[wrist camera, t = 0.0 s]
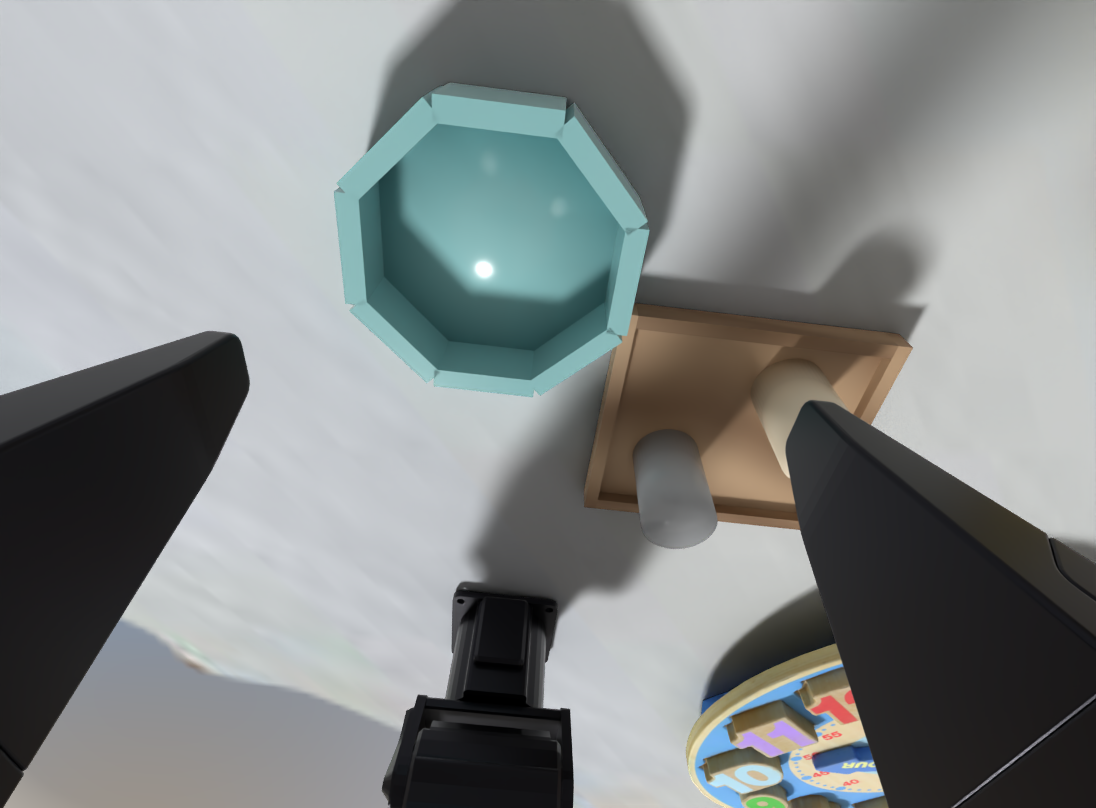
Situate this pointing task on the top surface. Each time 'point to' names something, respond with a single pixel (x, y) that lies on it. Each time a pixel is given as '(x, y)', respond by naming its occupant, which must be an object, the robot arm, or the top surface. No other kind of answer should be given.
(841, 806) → the shape sorting clock
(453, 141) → the bowl
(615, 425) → the parts tray
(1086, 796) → the robot arm
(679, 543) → the grey rounded cylinder
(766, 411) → the sand beige cylinder
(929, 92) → the top surface
